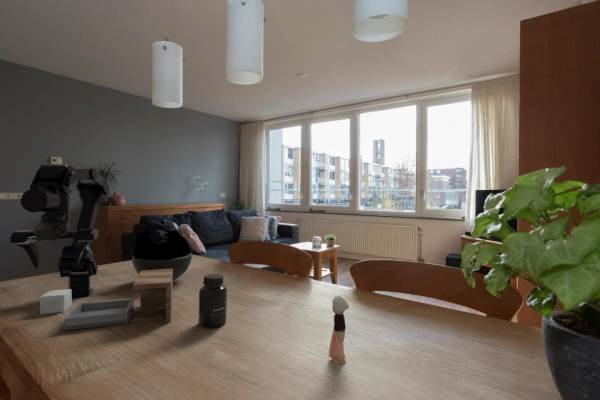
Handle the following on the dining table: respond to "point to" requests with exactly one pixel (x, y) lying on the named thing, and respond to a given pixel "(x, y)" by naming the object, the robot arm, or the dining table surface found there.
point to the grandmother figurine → (338, 330)
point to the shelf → (156, 289)
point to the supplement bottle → (212, 302)
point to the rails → (144, 318)
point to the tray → (100, 314)
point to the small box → (55, 301)
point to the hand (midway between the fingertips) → (56, 266)
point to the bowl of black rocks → (162, 254)
